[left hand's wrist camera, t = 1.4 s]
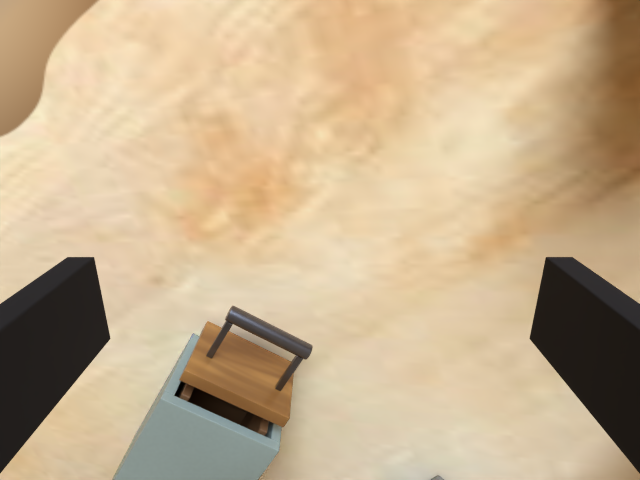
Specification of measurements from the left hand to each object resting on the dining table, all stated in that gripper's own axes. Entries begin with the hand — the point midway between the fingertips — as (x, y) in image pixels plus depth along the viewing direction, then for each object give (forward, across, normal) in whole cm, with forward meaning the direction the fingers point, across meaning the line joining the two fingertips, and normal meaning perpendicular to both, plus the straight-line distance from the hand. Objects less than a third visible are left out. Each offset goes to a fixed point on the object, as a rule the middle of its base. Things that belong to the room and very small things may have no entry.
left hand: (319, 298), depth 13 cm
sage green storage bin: (+27, +12, +28) cm, 41 cm away
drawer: (+26, +9, +23) cm, 36 cm away
